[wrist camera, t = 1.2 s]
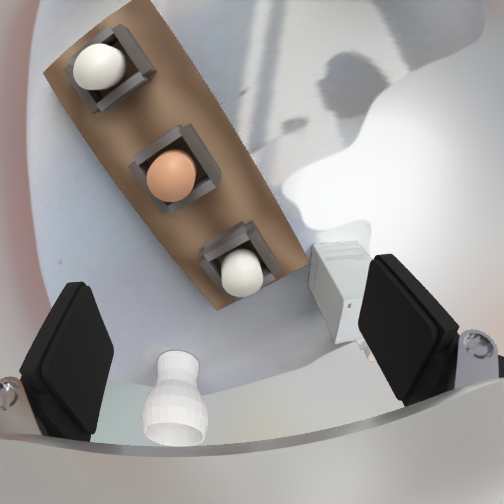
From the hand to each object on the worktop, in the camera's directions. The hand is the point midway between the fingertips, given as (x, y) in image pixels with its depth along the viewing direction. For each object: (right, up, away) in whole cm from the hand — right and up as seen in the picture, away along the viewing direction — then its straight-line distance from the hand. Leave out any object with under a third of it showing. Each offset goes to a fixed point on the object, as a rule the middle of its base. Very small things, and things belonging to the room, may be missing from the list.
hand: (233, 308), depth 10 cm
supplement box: (+13, 0, +35) cm, 37 cm away
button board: (-8, +13, +25) cm, 29 cm away
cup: (-13, -18, +42) cm, 48 cm away
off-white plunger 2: (-1, 0, +25) cm, 25 cm away
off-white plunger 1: (-13, +19, +13) cm, 27 cm away
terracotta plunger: (-7, +10, +19) cm, 23 cm away
